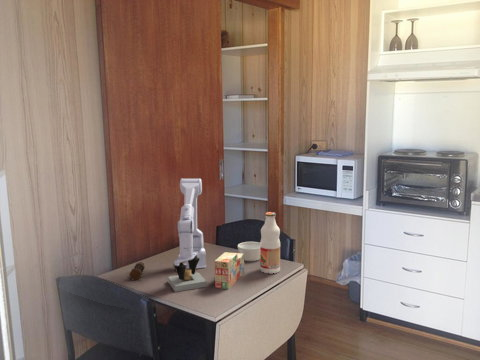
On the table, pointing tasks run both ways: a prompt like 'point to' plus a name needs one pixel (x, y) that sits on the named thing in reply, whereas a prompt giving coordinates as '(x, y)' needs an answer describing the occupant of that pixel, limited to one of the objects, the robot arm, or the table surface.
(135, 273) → the bolt
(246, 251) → the ramekin
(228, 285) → the stack of blocks
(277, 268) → the fruit juice
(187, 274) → the peg
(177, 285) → the board
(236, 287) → the table surface
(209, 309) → the table surface
